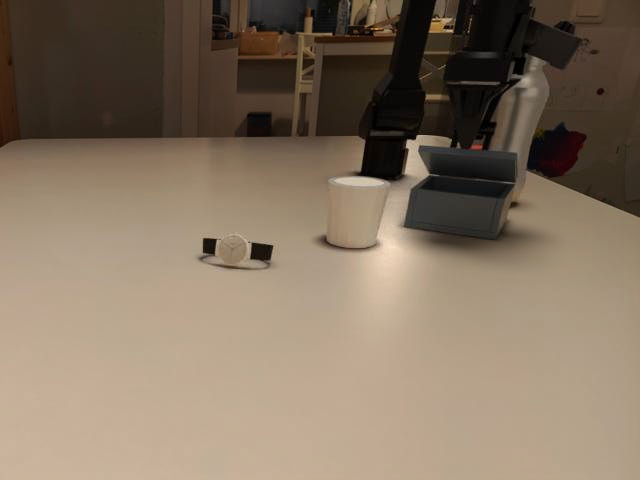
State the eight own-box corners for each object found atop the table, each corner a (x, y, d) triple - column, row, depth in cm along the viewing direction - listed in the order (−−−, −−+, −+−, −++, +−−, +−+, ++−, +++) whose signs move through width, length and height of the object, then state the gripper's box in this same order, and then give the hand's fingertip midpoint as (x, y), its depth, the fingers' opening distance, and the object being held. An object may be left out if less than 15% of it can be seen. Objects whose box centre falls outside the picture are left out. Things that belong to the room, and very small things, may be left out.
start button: (482, 160, 103) (485, 149, 102) (459, 158, 105) (462, 147, 104) (486, 156, 106) (488, 146, 105) (463, 155, 108) (466, 144, 107)
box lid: (515, 159, 69) (527, 118, 69) (417, 151, 74) (427, 113, 74) (515, 183, 79) (526, 147, 78) (429, 174, 84) (438, 141, 83)
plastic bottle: (508, 197, 92) (546, 48, 83) (527, 208, 87) (571, 49, 77) (464, 196, 93) (497, 49, 84) (480, 207, 87) (517, 49, 78)
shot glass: (384, 236, 75) (394, 177, 71) (376, 252, 69) (387, 189, 66) (327, 230, 77) (334, 173, 74) (315, 245, 72) (322, 184, 68)
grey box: (494, 239, 73) (505, 199, 71) (403, 226, 79) (410, 188, 76) (506, 220, 81) (515, 183, 79) (422, 209, 86) (429, 174, 84)
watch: (195, 263, 66) (196, 230, 64) (209, 250, 70) (210, 219, 68) (266, 272, 63) (269, 238, 62) (276, 258, 67) (279, 226, 66)
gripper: (589, -15, 56) (540, 162, 63) (594, -5, 70) (554, 139, 77) (458, -10, 61) (427, 152, 69) (487, -2, 75) (459, 133, 83)
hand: (471, 144), depth 74 cm, fingers open, 8 cm apart
